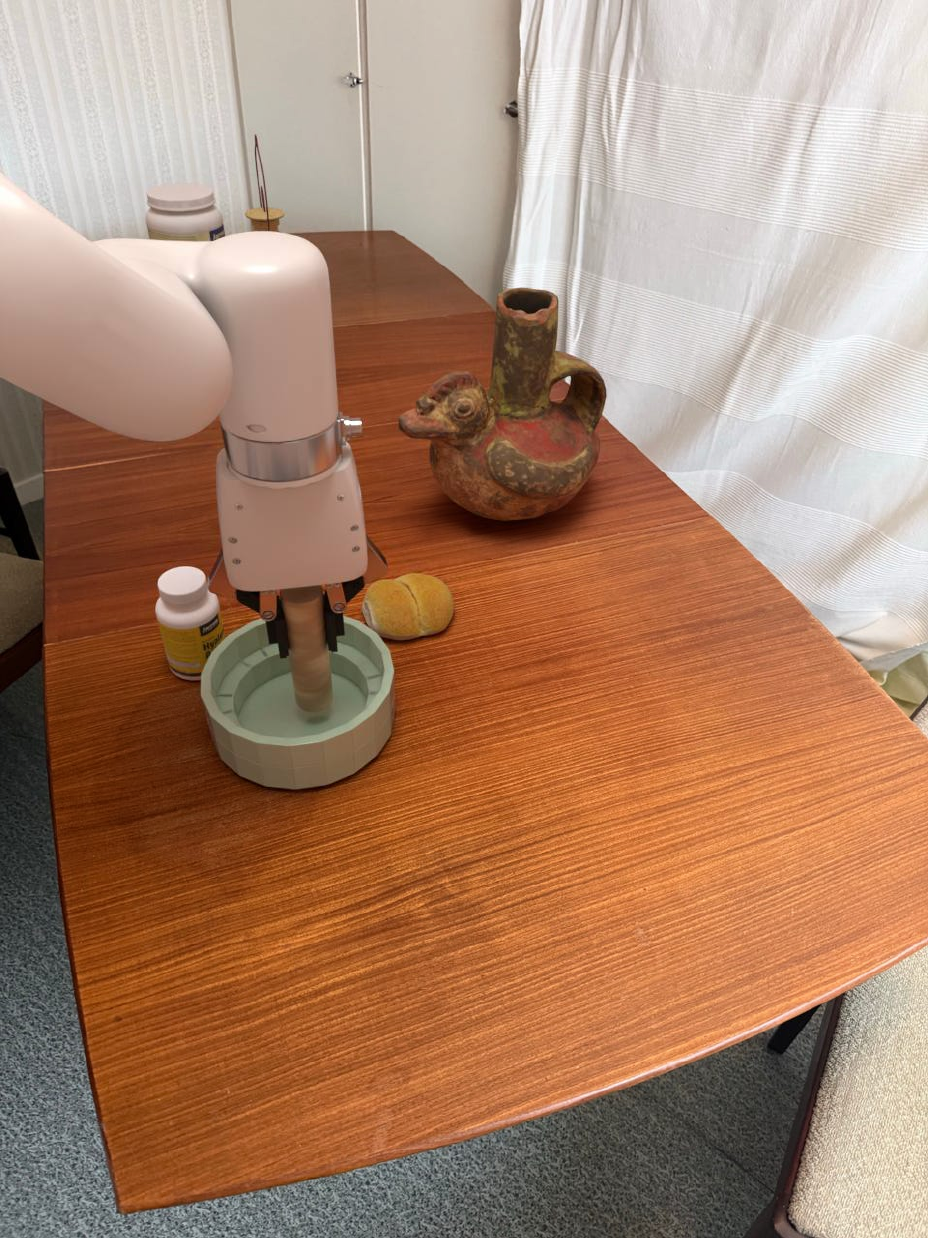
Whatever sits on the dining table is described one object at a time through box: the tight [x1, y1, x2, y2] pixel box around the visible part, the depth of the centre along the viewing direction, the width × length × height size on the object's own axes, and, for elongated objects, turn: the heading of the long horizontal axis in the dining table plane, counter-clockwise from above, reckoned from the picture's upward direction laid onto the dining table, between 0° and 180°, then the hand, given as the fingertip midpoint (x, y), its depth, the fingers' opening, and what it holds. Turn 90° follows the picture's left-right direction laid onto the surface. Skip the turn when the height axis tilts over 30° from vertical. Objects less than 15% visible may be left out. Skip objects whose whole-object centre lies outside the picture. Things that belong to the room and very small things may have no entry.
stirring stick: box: [279, 585, 333, 712], centre depth 67 cm, size 3×3×12 cm
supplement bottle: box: [154, 565, 227, 681], centre depth 74 cm, size 5×5×10 cm
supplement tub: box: [145, 182, 226, 241], centre depth 138 cm, size 12×12×17 cm
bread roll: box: [361, 572, 455, 641], centre depth 82 cm, size 8×9×4 cm
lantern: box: [244, 133, 285, 233], centre depth 117 cm, size 12×10×30 cm
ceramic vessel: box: [397, 287, 608, 522], centre depth 90 cm, size 17×26×25 cm, turn 121°
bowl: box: [200, 615, 396, 790], centre depth 70 cm, size 16×16×6 cm
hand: (307, 641), depth 67 cm, fingers closed on stirring stick, 3 cm apart
